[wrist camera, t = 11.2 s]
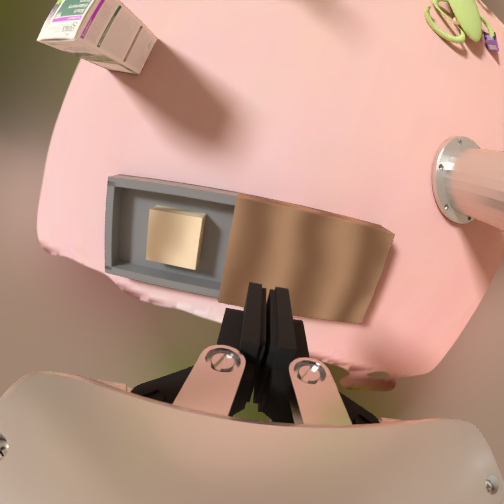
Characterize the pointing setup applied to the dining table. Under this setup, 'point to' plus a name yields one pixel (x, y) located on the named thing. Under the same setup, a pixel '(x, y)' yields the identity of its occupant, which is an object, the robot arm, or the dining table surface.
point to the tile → (175, 236)
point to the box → (136, 229)
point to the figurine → (464, 23)
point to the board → (304, 258)
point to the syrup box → (99, 33)
